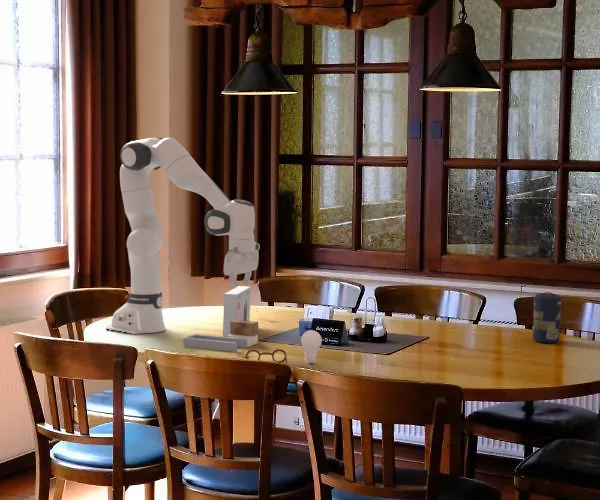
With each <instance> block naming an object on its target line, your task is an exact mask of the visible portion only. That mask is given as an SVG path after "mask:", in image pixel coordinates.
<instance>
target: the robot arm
mask: <svg viewBox="0 0 600 500" xmlns="http://www.w3.org/2000/svg"><path fill="white" fill-rule="evenodd" d="M119 156H120V162H121V166H120V169H119V182H120V183H119V184H120V191H121V196H122V202H123V207H124V214H125V215H126V218H127V220H128V222H129V226H130V228H131V229H130V230H131V232H130V233H129V235H128V237H127V240H126V248H127V254H128V264H129V267H130V291H131V292H129V293H127V294H125V295H124V296H125V297H124V299H126V303H124V304H123V305H122V306H121V307H119V308H118V309H117V310H115V312H114V313H112V314H113V315H112V320H111V323H110V324H108V325H106V326H105V330H106V329H111V330H117V331H122V332H121V333H123V332H127V333H126V334H130V333H131V335H138V334H151V333H153V334H154V333H161V332H163V331H166V330H167V329H166V325H165V321H164V315H163V310H162V309H163V308H162V307H163V292H162V275H161V274H162V271H161V269H160V261H159V254H158V253H159V251H160V250H161V249H162V247H163V245H164V234H163V230H162V227H161V223H160V220H159V217H158V213H157V211H156V206H155V201H154V195H153V190H152V185H151V179H150V175H151V172H152V171H153V170H154V171H157V170H159V169H160V168H161V169H162V170H163V172H164V173H165V175H166V176H167V177H168V179H169V180H170V182H172V183H173V184H174V185H175V186H176V187H177V188H178V189H181V190H185V191H190V192H193V193H196V194H198V195H200V196H201V197H203V198H204V199H206V200H207V201H208V203H209V205H211V206H212V207H213V209H211V210H208V211H207V213H206V214H205V216H204V220H203V221H204V222H203V223H204V227H205V229H206V231H207V232H208V233H209V234H210V235H213V236H226V235H228V251H227V253H226V254H225V256H224V262H223V274H224V276H229V280H230V283H231V288H233V289H234V288H236V287H238V286H239V282H238V280H237V278H238V275H242V274H244V278H243V281H242V282H243V284H244V285H249V284H251V283H250V282H251V281H250V279H251V277H252V271H253V272H254V271H257V270H258V266H259V256H260V255H259V250H260V247H261V246H260V244H259V243H258V242H256V241H255V235H254V234H255V233H254V230H255V227H256V226H255V225H256V224H255V223H256V221H255V220H256V218H255V217H256V216H255V214H256V213H255V207H254V204H253V203H252V202H251V201H248V200H245V199H233V200H231V199H230V198H229V197H228V196H227V195H226V194H225V193H224V192H223V190H222V189H221V188H220V187H219V186H218V185H217V183H216V182H215V181H214V180H213V179H212V178H211V177H210V176H209V175H208V174H207V173H206V172H205V171H204V170H203V169H202V168H201V167H200V166H199V164H198V163H197V162H196V160H195V159H194V158H193V157H192V156H191V154H190V152H189V151H188V150H186V148H185V147H184V146H183V145H182V144H181V143H180V142H178V140H177V139H175V138H173V137H165V138H163V137H153V138H152V137H150V138H149V137H148V138H143V139H139V140H134V141H133V140H131V141H130V142H128V143H125V144H124V145H123V146H122V148H121V150H120V154H119ZM111 330H110V331H111ZM117 331H116V332H117Z"/></svg>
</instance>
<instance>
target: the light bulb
mask: <svg viewBox="0 0 600 500" xmlns="http://www.w3.org/2000/svg"><path fill="white" fill-rule="evenodd" d="M322 340H323V339H322V335H320V333H319V332H317V331H316V330H313V329H311V330H310V329H309V330H306V331H305V332H304V333H303V334H302V336H301V337H300V343H301V347H302V348H303V349H304V351H305V357H306V363H308V364H309V365H313V364H315V363H316V359H317V355H318V351H319V349H320V347H321V345H322V342H323V341H322Z"/></svg>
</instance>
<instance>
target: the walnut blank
mask: <svg viewBox="0 0 600 500" xmlns="http://www.w3.org/2000/svg"><path fill="white" fill-rule="evenodd" d="M230 334H232V335H243V336H256V335H259V321H255V320H254V321H252V320H250V321H243V320H234V321H231V322H230Z"/></svg>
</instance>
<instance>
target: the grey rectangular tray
mask: <svg viewBox="0 0 600 500" xmlns="http://www.w3.org/2000/svg"><path fill="white" fill-rule="evenodd" d="M183 347H184V348H185V347H186V348H195V349H202V350H204V349H205V350H214V351H224V352H225V351H226V352H234V353H235V352H237V351H238V348H241V349H245V348H247V347H246V339H242V338H232V337H227V336H219V335H210V334H197V333H193V334H191V335H189V336H186V337H184V338H183Z"/></svg>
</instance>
